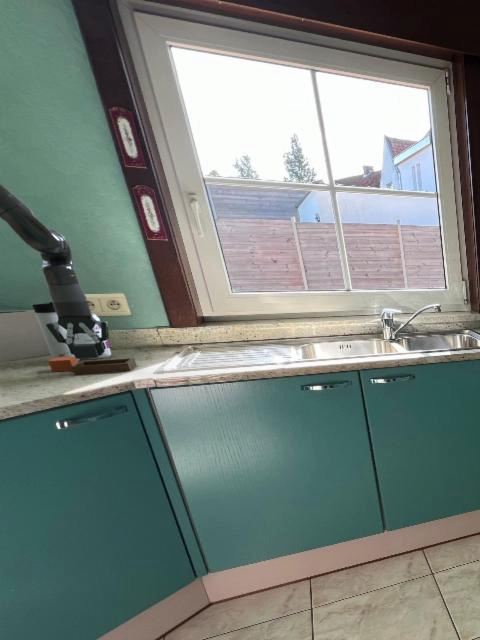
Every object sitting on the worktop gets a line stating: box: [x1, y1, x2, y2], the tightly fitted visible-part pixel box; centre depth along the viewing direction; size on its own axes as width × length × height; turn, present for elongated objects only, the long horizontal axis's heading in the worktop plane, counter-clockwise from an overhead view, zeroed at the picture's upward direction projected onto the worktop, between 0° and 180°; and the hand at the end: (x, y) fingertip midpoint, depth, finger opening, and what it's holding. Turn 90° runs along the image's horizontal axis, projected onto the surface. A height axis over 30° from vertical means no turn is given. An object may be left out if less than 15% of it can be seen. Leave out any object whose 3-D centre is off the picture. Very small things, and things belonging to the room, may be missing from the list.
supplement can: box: [74, 312, 112, 360], centre depth 173 cm, size 8×8×15 cm
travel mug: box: [31, 301, 81, 362], centre depth 165 cm, size 6×7×20 cm
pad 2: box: [72, 344, 100, 359], centre depth 156 cm, size 5×6×4 cm
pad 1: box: [47, 357, 79, 373], centre depth 158 cm, size 5×6×4 cm
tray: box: [72, 357, 137, 376], centre depth 159 cm, size 13×9×3 cm
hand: (89, 354), depth 156 cm, fingers closed on pad 2, 5 cm apart
